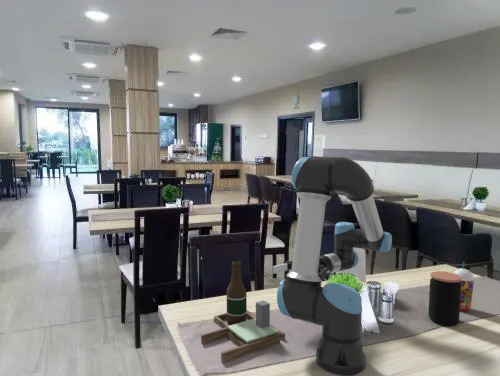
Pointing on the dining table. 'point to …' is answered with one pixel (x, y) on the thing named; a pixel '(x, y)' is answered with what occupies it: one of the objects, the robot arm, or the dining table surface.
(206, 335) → the brown flat frame
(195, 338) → the dining table surface
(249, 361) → the dining table surface
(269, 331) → the cover
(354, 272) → the milk
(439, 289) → the coffee jar
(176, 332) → the dining table surface
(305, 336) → the dining table surface
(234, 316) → the beer bottle
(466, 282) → the smoothie
